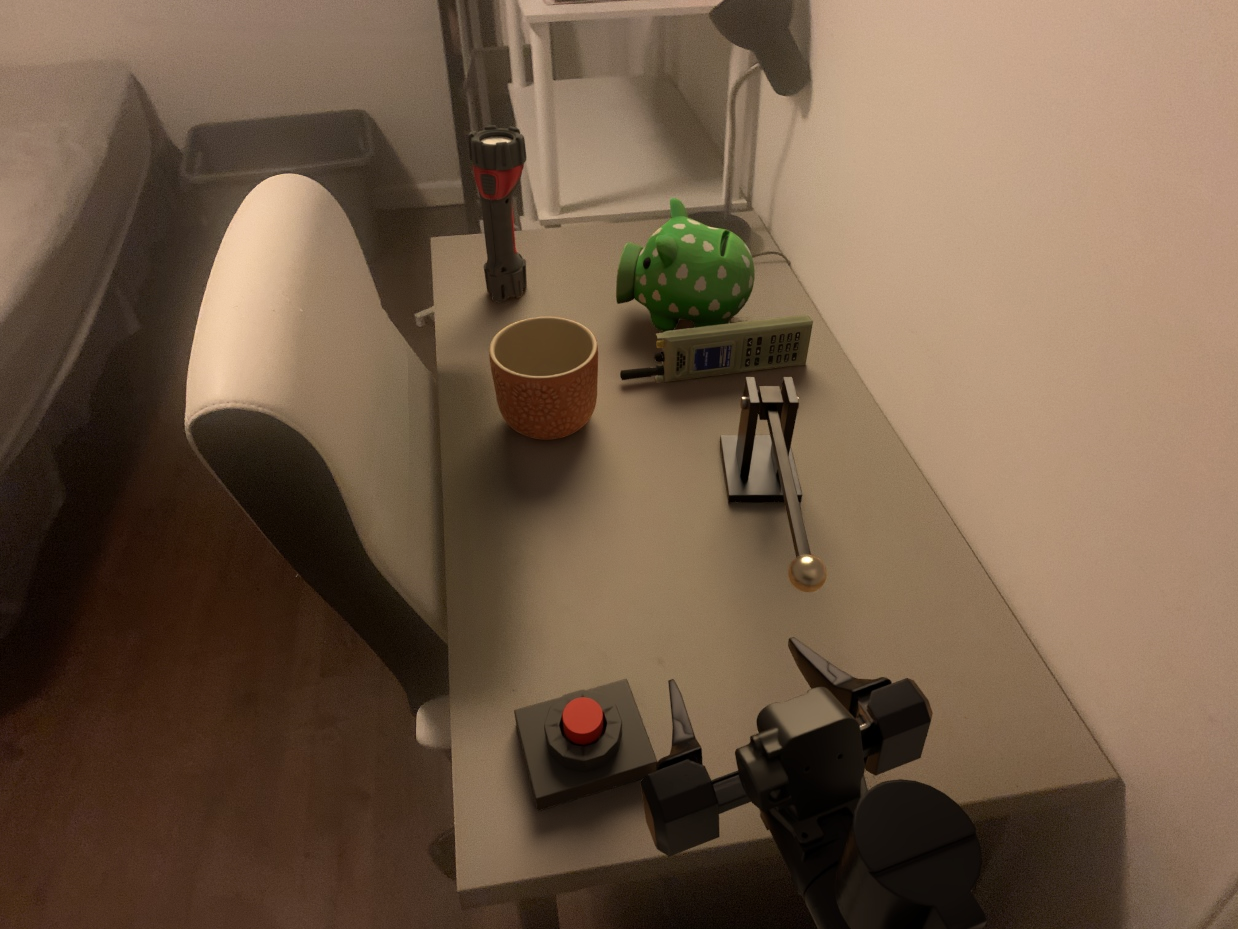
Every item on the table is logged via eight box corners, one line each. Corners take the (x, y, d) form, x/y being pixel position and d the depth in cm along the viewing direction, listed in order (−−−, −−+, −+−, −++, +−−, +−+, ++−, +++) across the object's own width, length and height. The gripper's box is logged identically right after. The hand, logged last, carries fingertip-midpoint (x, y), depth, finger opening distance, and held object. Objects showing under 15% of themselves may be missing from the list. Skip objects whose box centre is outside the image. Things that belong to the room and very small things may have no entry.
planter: (606, 447, 95) (605, 372, 87) (500, 458, 93) (490, 383, 86) (592, 384, 103) (590, 311, 96) (496, 393, 102) (486, 320, 95)
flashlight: (527, 270, 125) (513, 119, 109) (543, 294, 120) (532, 139, 104) (478, 280, 123) (458, 127, 107) (493, 305, 117) (474, 148, 102)
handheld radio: (808, 368, 106) (623, 391, 102) (799, 354, 108) (618, 377, 105) (815, 324, 102) (623, 347, 98) (806, 311, 104) (617, 333, 100)
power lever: (826, 600, 68) (833, 576, 66) (788, 600, 68) (794, 576, 66) (780, 406, 87) (784, 382, 85) (751, 406, 87) (754, 382, 85)
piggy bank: (632, 286, 121) (633, 190, 111) (752, 299, 118) (765, 202, 108) (612, 339, 111) (611, 239, 101) (743, 354, 108) (756, 253, 98)
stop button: (596, 703, 66) (596, 692, 65) (608, 738, 64) (607, 727, 63) (559, 714, 65) (558, 703, 64) (569, 749, 63) (568, 739, 62)
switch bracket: (800, 502, 88) (819, 420, 80) (727, 502, 88) (738, 420, 80) (786, 442, 95) (802, 361, 87) (719, 442, 95) (728, 361, 87)
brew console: (626, 691, 71) (626, 666, 68) (656, 774, 65) (658, 751, 63) (515, 723, 69) (511, 698, 66) (537, 811, 63) (533, 788, 61)
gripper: (1022, 743, 42) (859, 543, 53) (689, 877, 38) (592, 632, 50) (980, 841, 49) (845, 646, 60) (696, 960, 45) (611, 729, 57)
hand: (731, 661), depth 57 cm, fingers open, 9 cm apart
